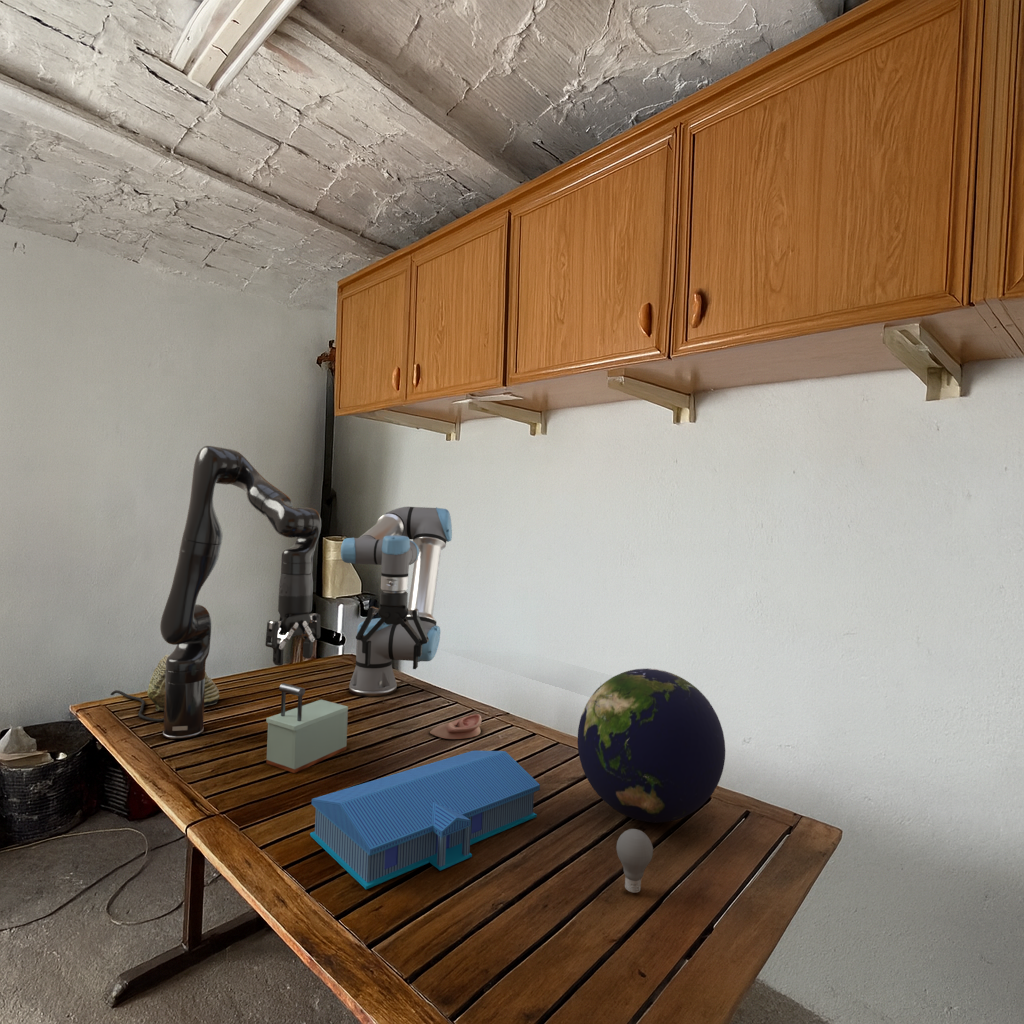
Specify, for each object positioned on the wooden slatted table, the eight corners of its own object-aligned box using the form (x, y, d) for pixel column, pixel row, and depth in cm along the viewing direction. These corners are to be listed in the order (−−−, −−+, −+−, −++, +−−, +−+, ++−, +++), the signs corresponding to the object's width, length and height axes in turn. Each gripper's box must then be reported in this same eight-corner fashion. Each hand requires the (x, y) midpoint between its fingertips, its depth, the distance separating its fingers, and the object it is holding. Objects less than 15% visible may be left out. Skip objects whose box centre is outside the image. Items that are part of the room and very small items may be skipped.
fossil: (144, 707, 182) (145, 655, 182) (212, 696, 194) (213, 647, 194) (151, 716, 175) (153, 662, 175) (221, 703, 188) (223, 653, 188)
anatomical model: (426, 721, 169) (440, 708, 180) (425, 736, 169) (439, 722, 181) (474, 727, 167) (485, 713, 178) (473, 742, 167) (484, 727, 178)
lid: (294, 730, 144) (295, 692, 144) (266, 722, 148) (267, 685, 148) (348, 710, 159) (349, 675, 159) (320, 703, 163) (322, 669, 163)
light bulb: (610, 879, 108) (613, 822, 108) (644, 879, 109) (647, 822, 109) (619, 902, 102) (622, 840, 102) (655, 901, 103) (658, 840, 103)
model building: (376, 899, 100) (378, 836, 100) (308, 834, 119) (310, 781, 118) (548, 822, 127) (550, 773, 127) (472, 779, 145) (474, 735, 145)
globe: (555, 830, 124) (562, 678, 123) (594, 772, 152) (600, 647, 151) (715, 870, 113) (723, 702, 112) (726, 799, 140) (732, 664, 140)
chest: (294, 773, 144) (296, 730, 144) (266, 763, 149) (267, 721, 149) (346, 749, 159) (348, 710, 159) (319, 741, 164) (320, 703, 163)
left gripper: (282, 597, 140) (279, 670, 141) (329, 591, 153) (327, 657, 153) (259, 594, 144) (256, 664, 144) (307, 587, 156) (305, 653, 157)
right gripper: (346, 590, 174) (343, 667, 175) (435, 595, 172) (432, 672, 173) (354, 586, 181) (352, 660, 182) (440, 591, 180) (437, 665, 180)
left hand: (293, 661), depth 149 cm, fingers open, 8 cm apart
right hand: (391, 666), depth 177 cm, fingers open, 13 cm apart
